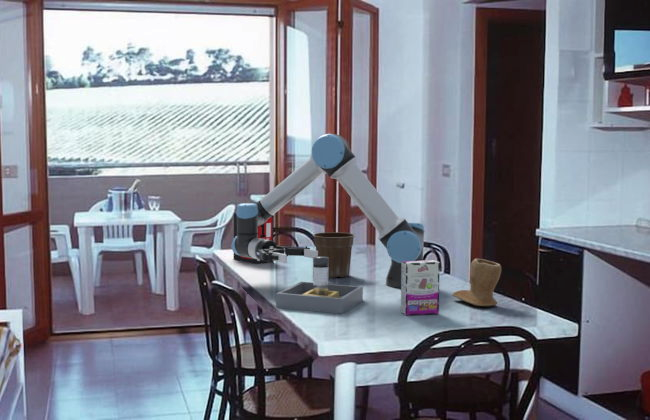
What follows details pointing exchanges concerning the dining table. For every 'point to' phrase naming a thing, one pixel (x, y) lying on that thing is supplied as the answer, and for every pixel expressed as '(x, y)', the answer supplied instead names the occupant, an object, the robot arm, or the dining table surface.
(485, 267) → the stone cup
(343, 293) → the walled tray
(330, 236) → the plant pot
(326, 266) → the two-tone metal cylinder
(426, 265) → the candy bar box
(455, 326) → the dining table surface
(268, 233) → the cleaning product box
